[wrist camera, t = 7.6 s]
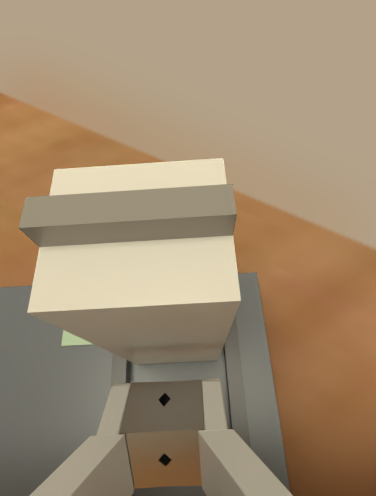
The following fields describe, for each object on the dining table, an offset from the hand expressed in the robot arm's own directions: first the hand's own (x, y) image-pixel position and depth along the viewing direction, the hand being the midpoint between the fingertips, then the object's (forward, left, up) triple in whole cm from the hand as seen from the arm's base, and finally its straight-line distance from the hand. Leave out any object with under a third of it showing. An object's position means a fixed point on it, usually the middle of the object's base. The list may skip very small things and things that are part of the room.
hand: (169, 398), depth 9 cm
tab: (-1, +3, -4) cm, 5 cm away
